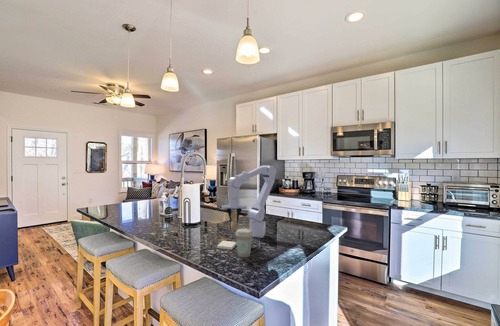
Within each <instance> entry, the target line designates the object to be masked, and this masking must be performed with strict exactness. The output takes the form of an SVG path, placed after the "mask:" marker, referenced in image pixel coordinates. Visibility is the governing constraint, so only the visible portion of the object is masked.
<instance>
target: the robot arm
mask: <svg viewBox="0 0 500 326" xmlns="http://www.w3.org/2000/svg"><path fill="white" fill-rule="evenodd" d="M258 175H261V177H262V178H263V180H264V183H263V185H262V187H261V190H260V192H259V195H258V197H257V199H256V202H255V203H254V204H253V205H251V207H250V208H249V210H248V211H247V217H248V218H249V229H251V230H252V232H253V236H252V238H262V239H263V238H264V237H265V235H266V221H264V218H265V213H266V209H265V205H266V203H267V200H268V198H269V195H270V192H271V191H272V189H273V185H274V183H275V177H276V175H277V168H276V167H275V166H274V165H264V164H263V165H259V166H258V167H256V168H254V169H252V170H250V171H249V172H247V171H241V173H240V174H236V175H235V176H232V177H229V179H228V181H227V186H228V189H229V193H228V195H229V196H228V202H229V203H228V204H226V205H224V204H222V205H221V210H226V211H227V214H228V217H229V222H230V223H231V211H232V210H236V211H237V223H238V222H239V217H240V215H241V212H242V210H247V209H248V205H246V204H243V205H242V204H240V188H241V186H242V185H243V184H245V183H248V182H249V181H250V180H251V178H254V177H256V176H258Z"/></svg>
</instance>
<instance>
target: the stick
mask: <svg viewBox="0 0 500 326" xmlns="http://www.w3.org/2000/svg"><path fill="white" fill-rule="evenodd" d="M237 223H238V222H237V210H231V222H230V229H231V230H237V229H238V227H237V226H238V225H237Z"/></svg>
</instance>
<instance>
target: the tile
mask: <svg viewBox="0 0 500 326" xmlns="http://www.w3.org/2000/svg"><path fill="white" fill-rule="evenodd" d="M235 247H237V241H236V242H235V241H229V240H228V241H227V240H222V241H221V242H219V243H218V244H217V246H216V249H223V250H233V249H234V248H235Z"/></svg>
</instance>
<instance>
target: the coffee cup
mask: <svg viewBox="0 0 500 326" xmlns="http://www.w3.org/2000/svg"><path fill="white" fill-rule="evenodd" d="M234 235H235V237H236V238H235V239H236V242H237V245H236V249H237V256H238V257H239V258H244V259H245V258H249V257H250V256H251V249H252V242H253V241H252V240H253V237H252V236H253V232H252V230H251V229H250V228H248V227H247V228H246V227H245V228H244V227H243V228H237V229H236V232H235V234H234Z"/></svg>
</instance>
